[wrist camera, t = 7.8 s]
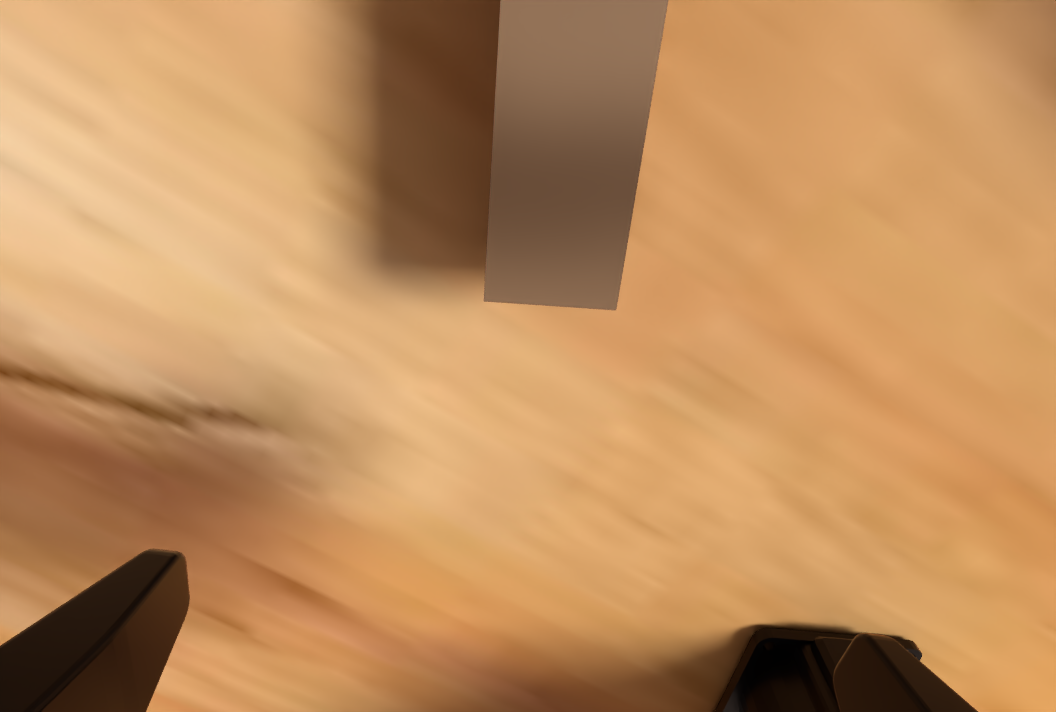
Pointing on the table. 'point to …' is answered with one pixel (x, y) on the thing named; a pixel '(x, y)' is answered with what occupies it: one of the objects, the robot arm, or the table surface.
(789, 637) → the robot arm
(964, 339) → the table surface
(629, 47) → the brown wooden bar
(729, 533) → the table surface
